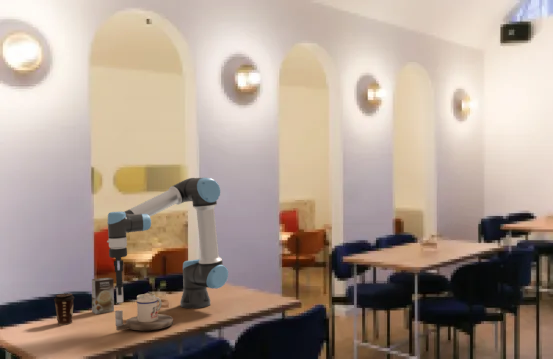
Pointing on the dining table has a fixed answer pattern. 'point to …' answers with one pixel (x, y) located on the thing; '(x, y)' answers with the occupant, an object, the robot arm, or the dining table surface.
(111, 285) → the coffee box
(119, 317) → the turntable
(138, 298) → the mug
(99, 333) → the dining table surface
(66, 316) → the coffee cup
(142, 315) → the teacup with lid
